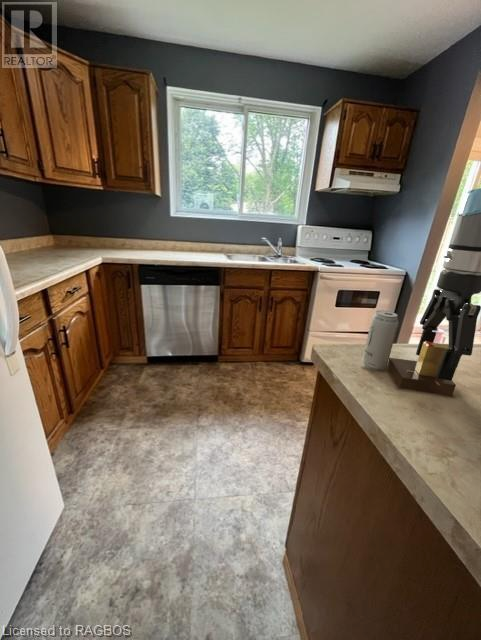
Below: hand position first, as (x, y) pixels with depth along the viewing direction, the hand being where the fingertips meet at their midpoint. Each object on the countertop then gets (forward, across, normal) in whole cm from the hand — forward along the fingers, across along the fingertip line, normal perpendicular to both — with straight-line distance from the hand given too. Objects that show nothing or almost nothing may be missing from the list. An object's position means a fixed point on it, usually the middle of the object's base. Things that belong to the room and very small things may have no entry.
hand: (432, 366), depth 63 cm
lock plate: (+5, -2, -2) cm, 6 cm away
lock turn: (+2, 0, 0) cm, 2 cm away
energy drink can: (+5, -6, -10) cm, 13 cm away
